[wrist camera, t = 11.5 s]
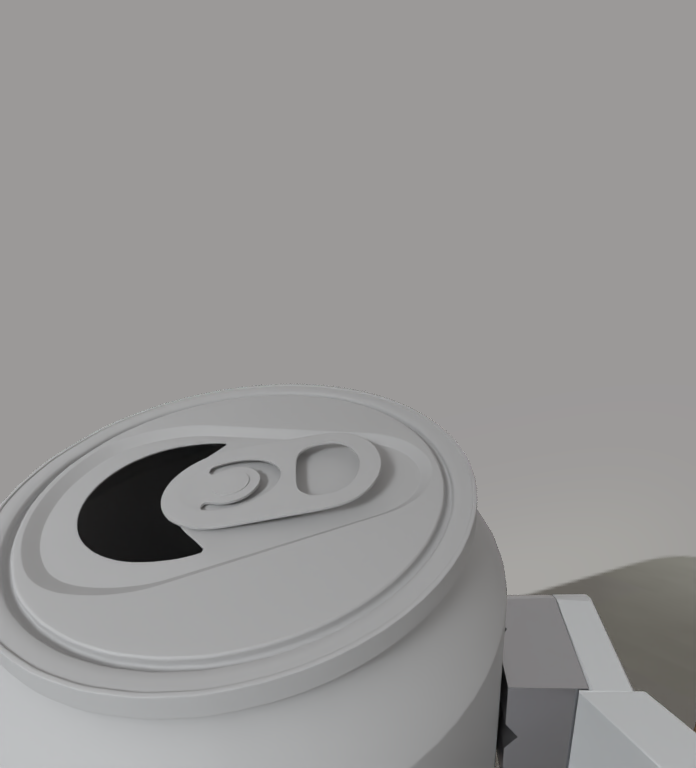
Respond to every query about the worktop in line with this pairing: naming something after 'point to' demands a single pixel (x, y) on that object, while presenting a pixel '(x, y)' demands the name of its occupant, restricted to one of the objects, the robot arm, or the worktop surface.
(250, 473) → the beverage can
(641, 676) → the worktop surface
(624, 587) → the worktop surface
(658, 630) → the worktop surface
